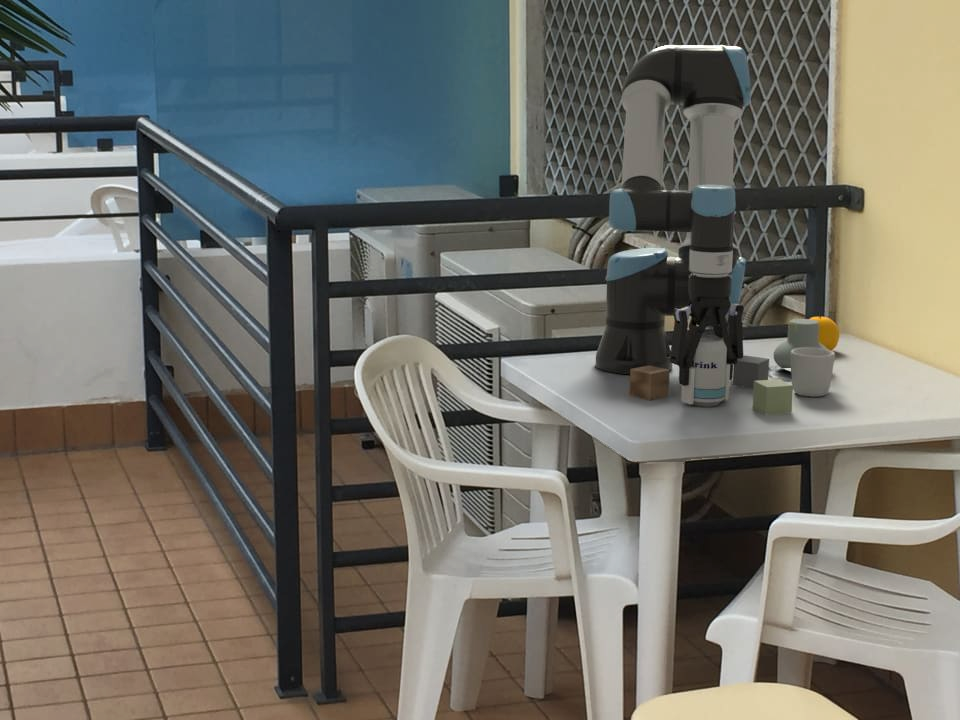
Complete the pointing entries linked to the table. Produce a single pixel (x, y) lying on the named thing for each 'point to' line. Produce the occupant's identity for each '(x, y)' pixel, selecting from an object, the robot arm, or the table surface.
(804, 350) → the cup
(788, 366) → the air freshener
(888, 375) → the table surface
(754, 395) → the olive block
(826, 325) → the orange
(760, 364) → the charcoal block
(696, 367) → the beverage can
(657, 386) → the walnut block
